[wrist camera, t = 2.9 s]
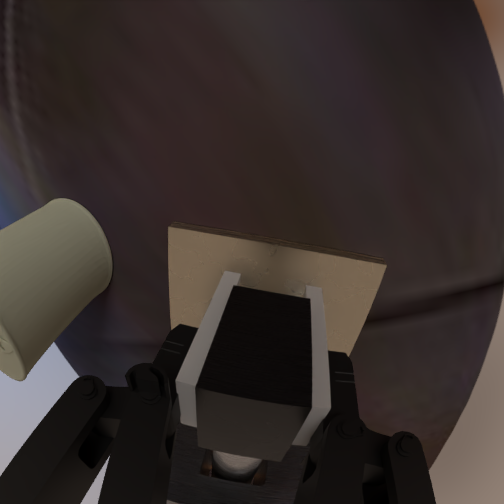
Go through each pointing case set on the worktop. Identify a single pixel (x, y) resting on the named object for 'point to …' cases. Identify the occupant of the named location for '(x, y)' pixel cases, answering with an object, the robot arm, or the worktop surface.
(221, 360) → the shaft
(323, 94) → the worktop surface
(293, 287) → the block
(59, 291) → the can
